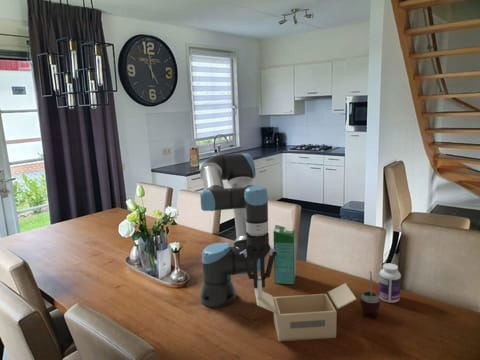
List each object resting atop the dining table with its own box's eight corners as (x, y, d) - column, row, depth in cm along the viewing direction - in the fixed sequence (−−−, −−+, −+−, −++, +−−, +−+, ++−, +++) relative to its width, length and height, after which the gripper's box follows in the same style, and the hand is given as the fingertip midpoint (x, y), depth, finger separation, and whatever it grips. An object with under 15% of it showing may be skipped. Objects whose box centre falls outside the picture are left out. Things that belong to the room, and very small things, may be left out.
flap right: (336, 308, 123) (356, 298, 122) (327, 292, 133) (345, 282, 133) (337, 309, 123) (356, 299, 123) (328, 293, 134) (345, 284, 133)
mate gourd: (369, 321, 133) (370, 284, 130) (354, 310, 140) (355, 275, 137) (384, 315, 136) (386, 279, 133) (369, 305, 143) (370, 270, 140)
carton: (278, 341, 124) (278, 315, 122) (273, 321, 135) (273, 297, 133) (336, 337, 124) (336, 311, 122) (326, 317, 136) (326, 293, 134)
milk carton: (294, 284, 162) (294, 231, 157) (274, 283, 164) (273, 231, 158) (295, 275, 171) (295, 225, 165) (276, 274, 172) (275, 224, 167)
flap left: (272, 295, 133) (255, 288, 132) (277, 312, 122) (258, 304, 121) (272, 296, 133) (254, 289, 132) (276, 313, 122) (257, 305, 121)
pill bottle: (399, 295, 150) (400, 263, 147) (400, 305, 142) (402, 271, 139) (378, 292, 152) (379, 260, 149) (378, 302, 145) (380, 269, 142)
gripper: (238, 237, 117) (242, 302, 122) (278, 235, 118) (279, 299, 123) (237, 229, 125) (240, 291, 130) (274, 227, 125) (276, 288, 130)
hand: (259, 295), depth 126 cm, fingers closed
